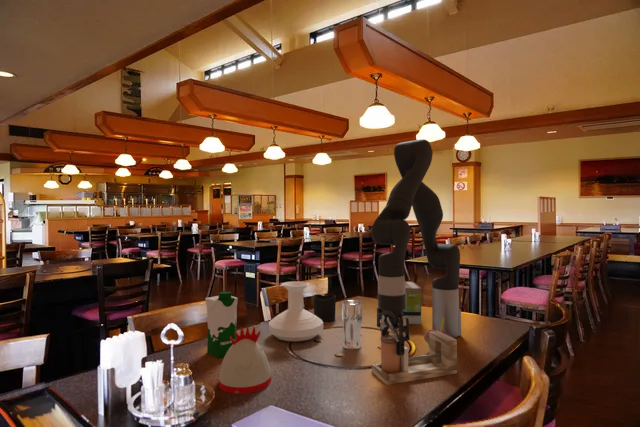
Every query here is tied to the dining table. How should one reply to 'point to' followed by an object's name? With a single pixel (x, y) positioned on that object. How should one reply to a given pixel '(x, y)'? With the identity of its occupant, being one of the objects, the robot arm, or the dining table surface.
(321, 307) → the pen holder
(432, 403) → the dining table surface
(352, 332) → the beer glass
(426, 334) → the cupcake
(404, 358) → the pusher
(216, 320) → the milk carton
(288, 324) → the white vase
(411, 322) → the tea box
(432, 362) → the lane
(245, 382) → the kitchen timer
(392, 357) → the jar
